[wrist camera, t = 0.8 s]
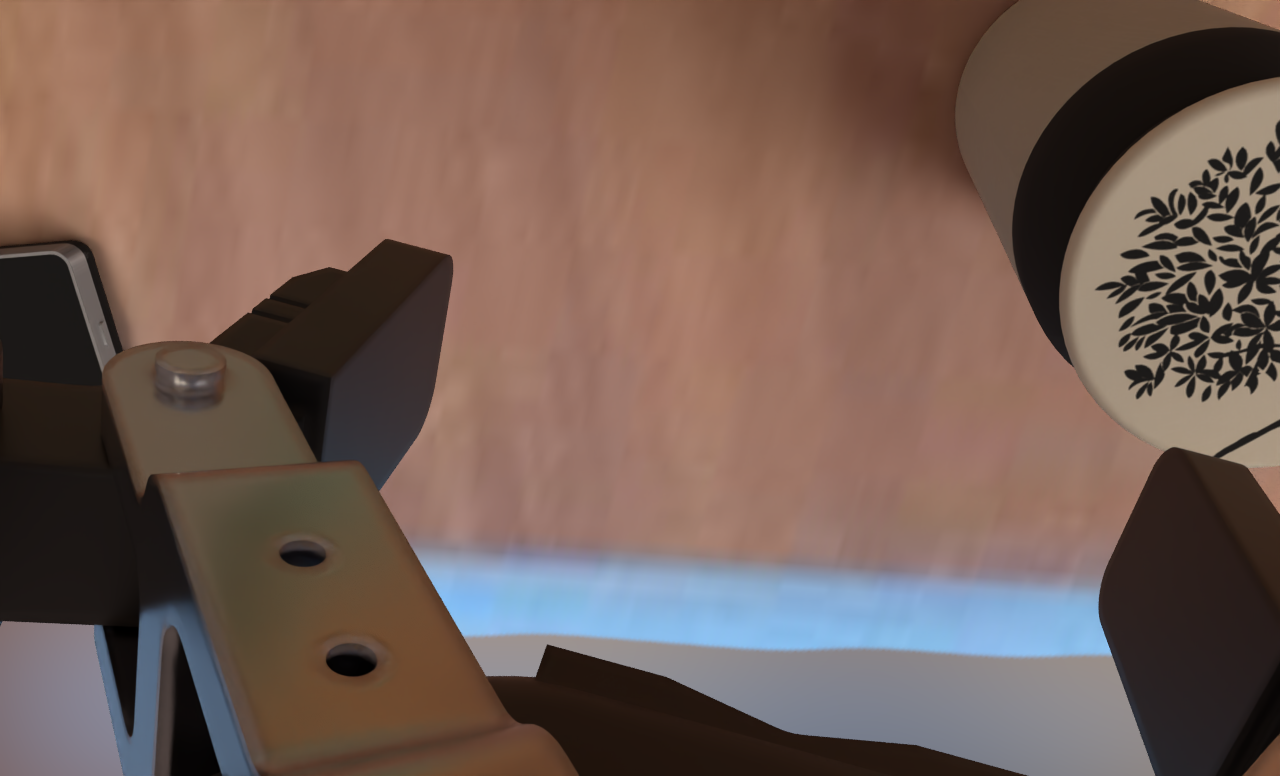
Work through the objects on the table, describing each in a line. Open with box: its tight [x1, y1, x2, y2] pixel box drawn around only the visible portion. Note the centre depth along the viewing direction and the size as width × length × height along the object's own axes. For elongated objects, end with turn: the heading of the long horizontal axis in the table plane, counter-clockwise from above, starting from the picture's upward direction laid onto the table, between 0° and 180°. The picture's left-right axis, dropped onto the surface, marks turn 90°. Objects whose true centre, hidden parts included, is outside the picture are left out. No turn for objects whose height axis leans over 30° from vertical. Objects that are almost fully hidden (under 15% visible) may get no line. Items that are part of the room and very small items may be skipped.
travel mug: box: [955, 0, 1280, 468], centre depth 30 cm, size 8×8×18 cm
